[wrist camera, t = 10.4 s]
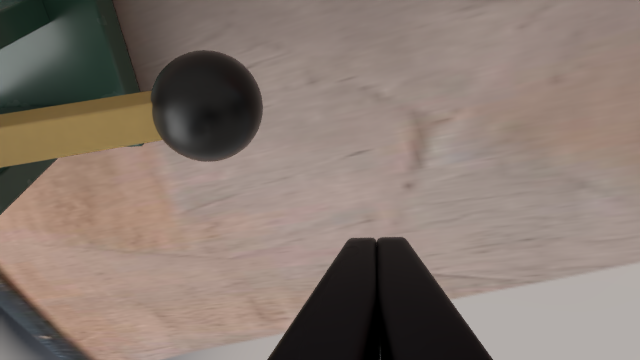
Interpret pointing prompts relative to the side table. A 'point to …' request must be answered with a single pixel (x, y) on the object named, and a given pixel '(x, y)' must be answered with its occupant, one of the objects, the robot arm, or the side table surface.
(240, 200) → the side table surface
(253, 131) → the lever
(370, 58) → the side table surface
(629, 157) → the side table surface
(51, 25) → the switch bracket
